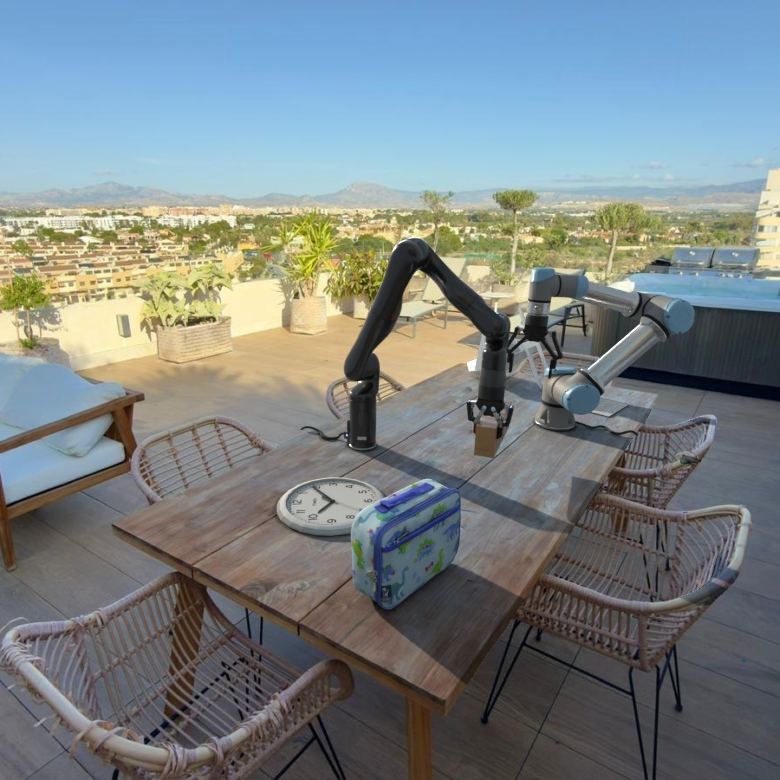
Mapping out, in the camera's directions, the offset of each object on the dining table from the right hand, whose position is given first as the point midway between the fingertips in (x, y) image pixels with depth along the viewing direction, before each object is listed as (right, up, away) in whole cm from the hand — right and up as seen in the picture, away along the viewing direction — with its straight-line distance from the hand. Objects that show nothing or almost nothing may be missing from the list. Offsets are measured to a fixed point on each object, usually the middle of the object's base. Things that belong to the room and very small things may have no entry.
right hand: (529, 374), depth 183 cm
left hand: (-20, -19, -27) cm, 39 cm away
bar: (-16, -21, -17) cm, 32 cm away
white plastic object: (+8, -2, +75) cm, 75 cm away
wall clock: (-65, -37, -40) cm, 85 cm away
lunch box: (-45, -47, -70) cm, 96 cm away
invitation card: (+43, -13, +43) cm, 62 cm away
